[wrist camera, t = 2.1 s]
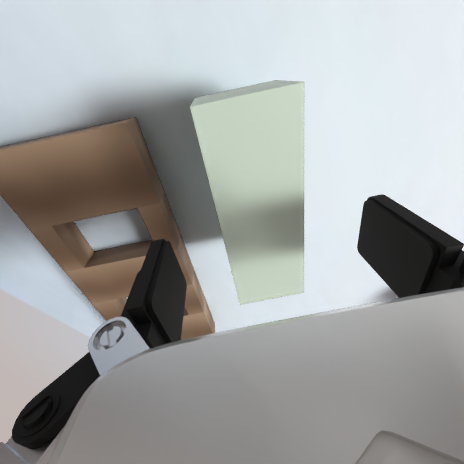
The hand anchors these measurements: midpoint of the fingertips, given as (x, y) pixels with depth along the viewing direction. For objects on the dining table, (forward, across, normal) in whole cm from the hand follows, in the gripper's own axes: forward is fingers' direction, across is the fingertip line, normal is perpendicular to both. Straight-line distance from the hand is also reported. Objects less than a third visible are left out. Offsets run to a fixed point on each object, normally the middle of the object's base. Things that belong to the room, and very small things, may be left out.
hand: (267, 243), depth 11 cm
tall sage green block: (+7, 0, -1) cm, 7 cm away
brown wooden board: (+7, +11, +5) cm, 14 cm away
